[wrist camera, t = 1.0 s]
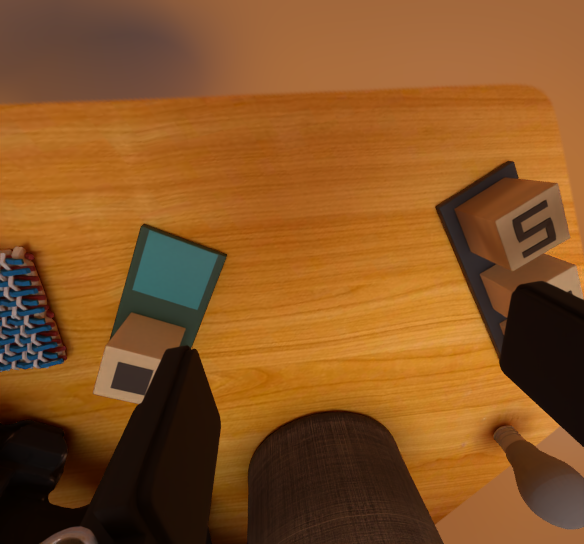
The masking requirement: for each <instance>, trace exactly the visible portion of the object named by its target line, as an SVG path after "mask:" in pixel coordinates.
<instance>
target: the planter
mask: <svg viewBox="0 0 584 544" xmlns="http://www.w3.org/2000/svg"><path fill="white" fill-rule="evenodd" d="M248 487H249V495H248V530H247V544H444V543H443V541H442V539H441V537H440V535H439V533H438V531H437V529H436V527H435V525H434V523H433V521H432V519H431V516H430V514H429V512H428V510H427V508H426V506H425V504H424V502H423V500H422V498H421V496H420V494H419V492H418V490H417V488H416V486H415V484H414V482H413V480H412V478H411V476H410V473H409V471H408V469H407V467H406V465H405V463H404V461H403V459H402V457H401V455H400V452H399V450H398V447H397V445H396V443H395V441H394V438H393V437H392V435H391V434H390V432H389V431H388V430H387V429H386V428H385V427H384V426H383V425H381V424H380V423H378V422H377V421H375V420H373V419H371V418H369V417H366V416H363V415H359V414H354V413H347V412H328V413H320V414H315V415H311V416H307V417H304V418H301V419H298V420H296V421H293V422H291V423H289V424H287V425H285V426H283V427H282V428H280V429H278V430H277V431H275V432H274V433H273V434H271V435H270V436H269V437H268V438H267V439H266V440H265V441H264V442H263V443H262V444H261V445H260V446H259V447H258V449H257V450H256V452H255V453H254V455H253V457H252V459H251V462H250V465H249V471H248Z"/></svg>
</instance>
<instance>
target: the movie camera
mask: <svg viewBox="0 0 584 544" xmlns="http://www.w3.org/2000/svg"><path fill="white" fill-rule="evenodd" d="M63 436H64V431H63V429H60V428H57V427H53V426H49V425H45V424H43V423H39V422H35V421H32V420H26V421H19V422H17V423H14V424H11V425H3V424H0V544H40V543H41V542H43V541H44V540H46V539H47V538H49V537H50V536H52V535H53V534H55V533H58V532H60V531H62V530H65V529H67V528H71V527H79V526H80V524H81V522H82V520H83V518H84V516H85V514H86V511H87V509H88V507H89V505H90V504H88V505H86V506H83V507H80V508H75V509H71V508H64V507H60V506H56V505H53V504H51V503H50V502H49V501H48V494H49V493H50V492H51V491H52V490H54V488H55V486H56V485H57V483H58V481H59V479H60V477H61V475H62V473H63V468H64V464H65V460H66V456H67V454H68V451H67V449H68V446H67V444H66V441H65V439H64V438H63ZM205 544H212V541H211V536H210V531H209V528H207V536H206V543H205Z"/></svg>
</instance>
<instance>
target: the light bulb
mask: <svg viewBox="0 0 584 544" xmlns="http://www.w3.org/2000/svg"><path fill="white" fill-rule="evenodd" d="M493 438H494V439H495V440H496V442H497V443H499V445H500V446H501V448H502V449H503V450H504V451H505V453H506V456H507V459H508V461H509V462H510V464H511V465H512V467H513V470H514V474H515V478H516V482H517V486H518V489H519V492H520V494H521V496H522V498H523V500H524V501H525V503H526V504H527V505H528V507H529V508H530V509H531V510H532V511H533V512H534V513H535V514H536V515H538V516H539V517H540V518H542V519H543V520H545V521H547V522H549V523H550V524H552V525H555V526H558V527H561V528H565V529H579V528H582V527H584V478H583V477H582V476H581V475H580V474H579V473H578V472H577V471H576V470H575V469H574V468H572V467H571V466H569V465H568V464H567V463H565V462H563V461H561V460H559V459H557V458H555V457H552V456H550V455H548V454H546V453H544V452H542V451H540V450H538V449H537V448H536V447H535V446H534V445H533V444H531V443H530V442H527V441H526V440H525V439H524V438H523V437H522V436H521V435H520V434H519V433H518V432H517V431H516V430H515V429H514V428H513V427H512V426H509V425H507V426H502V427H499V428H498V429H497V430H496V431H495V433H494V435H493Z"/></svg>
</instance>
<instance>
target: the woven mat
mask: <svg viewBox="0 0 584 544" xmlns="http://www.w3.org/2000/svg"><path fill="white" fill-rule="evenodd" d="M33 259H35V258H34V256H33V254H29V253H26V250H25V249H24V248H23V247H15V248H14V250H13V252H11V250H10V249H5V250H1V251H0V372H2V371H5V370H7V371H10V369H11V368H13V369H15V370H19V369H18V368H22V369H28V368H30V369H33V367H36V368H39V369H41V368H48V367H49V366H53V365H56V364H62V363H64V360H66V359H67V357H66V354H65V351H64V350H66V347H65V346H63V345H62V340H61V338H60V335H59V332H58V329H57V326H56V323H55V322H54V321H53V319H52V317H54V313H53V312H51V311H48V309H49V306H48V305H47V297H46V295H45V292H44V289H43V287H42V284H41V282H40V279H39V276H38V274H37V271H36V269H35V266H34V263H33V262H32V261H30V260H33ZM1 265H2V266H3V267H1ZM16 265H18V266H16ZM20 274H25V275H26V276H21V275H20ZM29 294H33V295H30V296H29ZM53 352H55V353H53ZM38 365H39V366H38ZM17 367H18V368H17Z"/></svg>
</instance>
